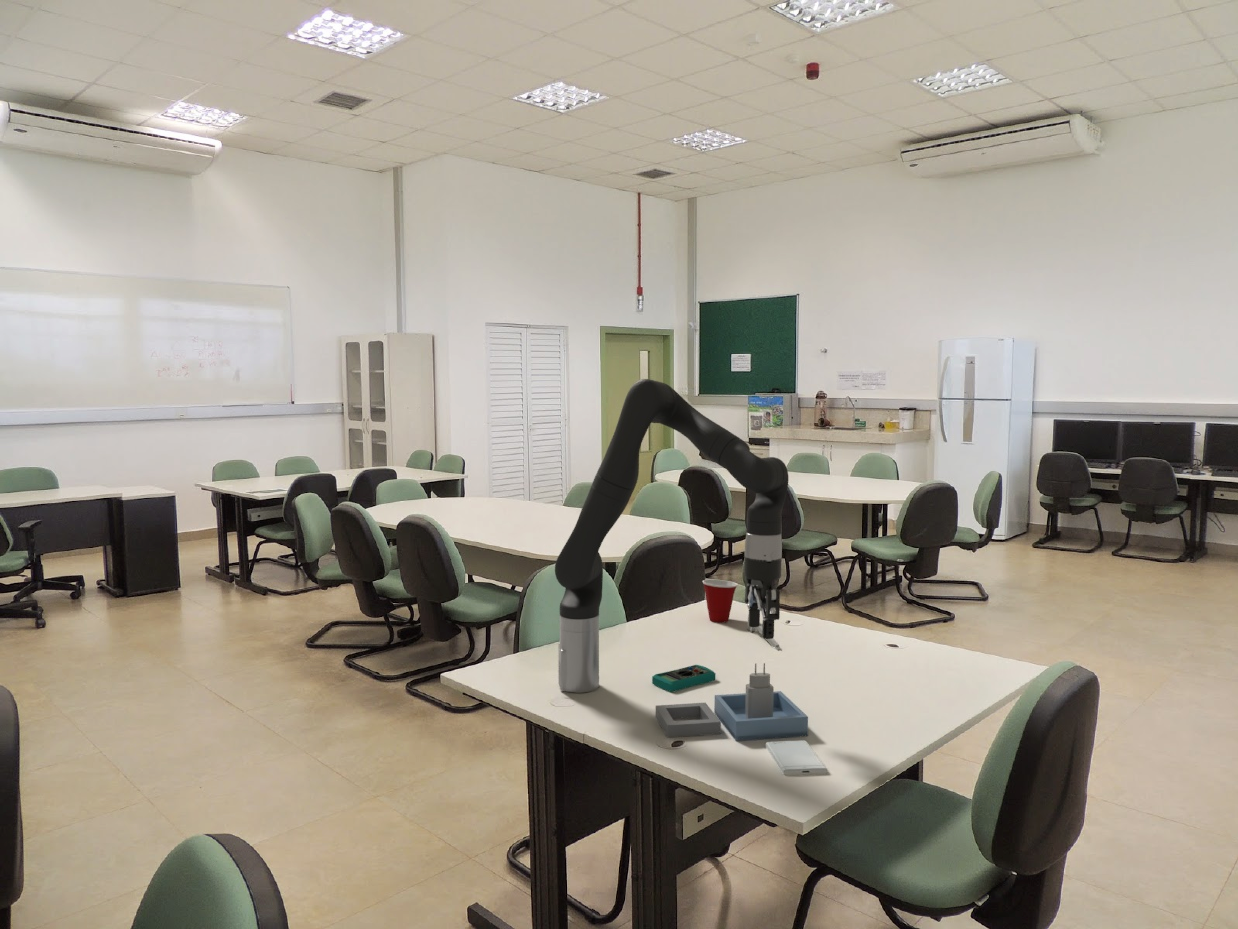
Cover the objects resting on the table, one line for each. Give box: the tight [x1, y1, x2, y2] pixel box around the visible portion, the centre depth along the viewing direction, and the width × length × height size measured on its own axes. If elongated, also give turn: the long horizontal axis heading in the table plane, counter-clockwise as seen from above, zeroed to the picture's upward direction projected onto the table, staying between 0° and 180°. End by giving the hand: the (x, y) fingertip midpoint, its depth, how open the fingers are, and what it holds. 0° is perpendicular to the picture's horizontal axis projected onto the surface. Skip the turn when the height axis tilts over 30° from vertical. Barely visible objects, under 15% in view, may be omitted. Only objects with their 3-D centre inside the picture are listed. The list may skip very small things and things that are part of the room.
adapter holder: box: [655, 702, 722, 738], centre depth 176 cm, size 11×11×2 cm
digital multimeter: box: [651, 664, 716, 693], centre depth 203 cm, size 7×15×3 cm, turn 126°
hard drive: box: [765, 740, 829, 776], centre depth 160 cm, size 2×8×12 cm
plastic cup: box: [702, 579, 739, 623], centre depth 259 cm, size 11×11×12 cm
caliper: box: [747, 614, 782, 651], centre depth 238 cm, size 20×1×6 cm, turn 15°
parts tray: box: [713, 690, 809, 742], centre depth 177 cm, size 15×15×4 cm
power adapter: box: [745, 662, 775, 719], centre depth 176 cm, size 3×5×12 cm, turn 98°
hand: (760, 632), depth 175 cm, fingers open, 8 cm apart
